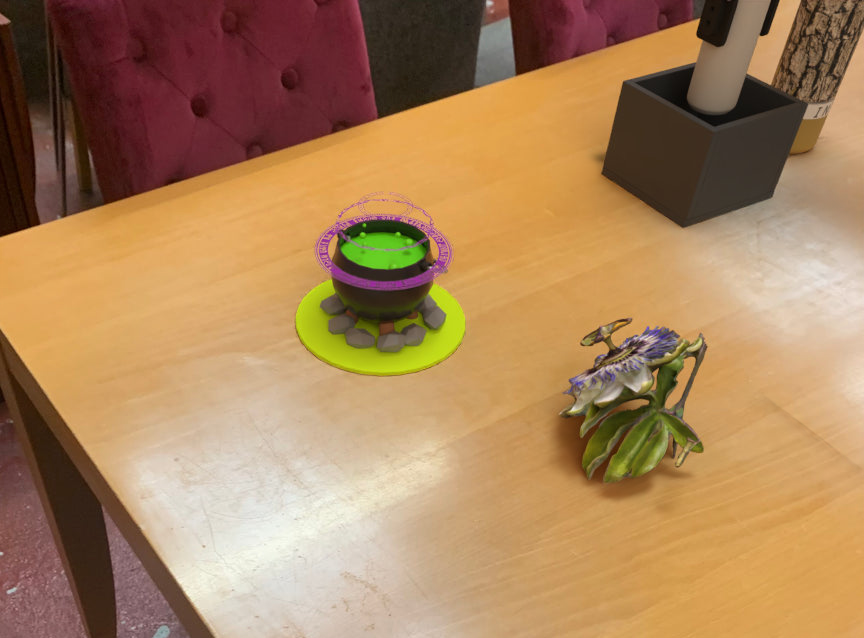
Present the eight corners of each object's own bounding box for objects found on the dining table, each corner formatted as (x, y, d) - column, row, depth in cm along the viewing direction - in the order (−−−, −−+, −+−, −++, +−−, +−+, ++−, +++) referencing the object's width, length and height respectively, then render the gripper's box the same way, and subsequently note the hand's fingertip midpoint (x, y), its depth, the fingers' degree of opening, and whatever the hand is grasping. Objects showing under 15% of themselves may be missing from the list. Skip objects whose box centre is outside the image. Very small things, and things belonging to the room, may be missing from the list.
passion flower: (572, 460, 75) (607, 317, 72) (705, 494, 69) (748, 340, 67) (525, 468, 65) (563, 302, 62) (675, 508, 60) (724, 329, 57)
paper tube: (751, 150, 101) (845, -113, 82) (753, 124, 105) (843, -131, 86) (814, 160, 99) (925, -105, 80) (814, 134, 103) (919, -124, 85)
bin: (687, 147, 101) (714, 57, 94) (772, 197, 94) (809, 103, 86) (601, 173, 97) (622, 80, 89) (683, 227, 89) (714, 131, 82)
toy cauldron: (496, 309, 80) (514, 194, 72) (407, 399, 71) (417, 281, 63) (357, 255, 85) (359, 143, 77) (260, 333, 77) (251, 216, 69)
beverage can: (713, 121, 87) (756, -15, 78) (674, 103, 89) (712, -31, 80) (744, 109, 89) (790, -26, 80) (705, 92, 91) (745, -41, 82)
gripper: (768, -189, 65) (693, 68, 79) (919, -209, 71) (825, 34, 85) (695, -209, 70) (635, 38, 83) (842, -226, 75) (765, 8, 89)
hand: (732, 34), depth 84 cm, fingers closed on beverage can, 4 cm apart
